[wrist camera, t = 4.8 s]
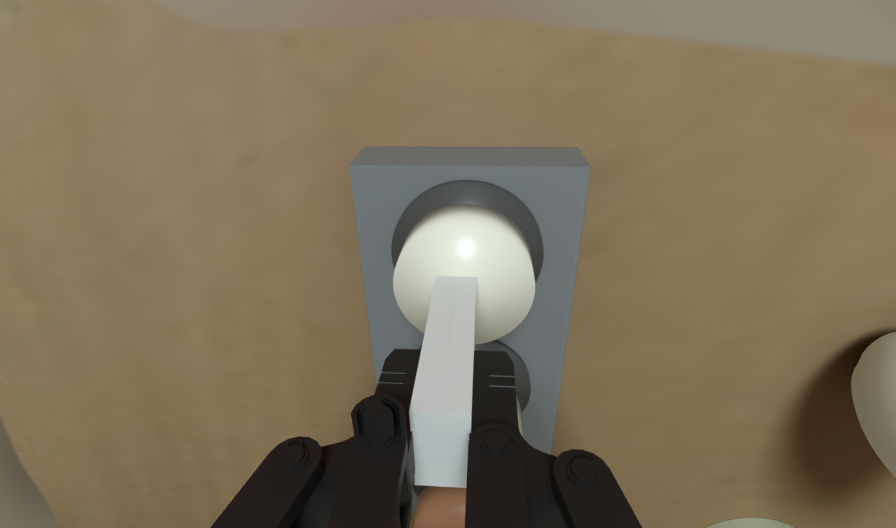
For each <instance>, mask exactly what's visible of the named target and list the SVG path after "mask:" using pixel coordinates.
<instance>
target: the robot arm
mask: <svg viewBox="0 0 896 528" xmlns="http://www.w3.org/2000/svg"><path fill="white" fill-rule="evenodd" d="M476 285H477V277H460V276H436V278H435V283H434V288H433V293H432V298H431V303H430V308H429V313H428V318H427V324H426V329H425V334H424V339H423V344H422V349H421V350H420V349H394V350H393V351H392V352H391V353H390V354H389V355H388V357H387V358H386V359H385V361H384V365H383V368H382V373H381V375H380V378H379V383H378V385H377V388H376V391H375V395H373V396H370V397H368V398H365V399H363V400H362V401H360V402H359V403H358V404H357V405H355V407H354V409H353V410H352V412H351V417H352V423H353V429H354V435H355V436H353V437H351V438H349V439H348V440H345V441H342V442H339V443H336V444H331V445H327V446H322V447H320V445H319V444H318V442H317V441H315V440H313V439H311V438H310V437H300V436H299V437H295V438H290V439H288V440H286V441H284V442H282V443H280V444H278V445H277V446H276V447H275V448H274V449H273V450H272V451H271V452H270V453H269V454H268V456H267V457H266V458H265V459H264V461H263V462H262V463H261V464H260V466H259V467H258V468H257V469H256V471H255V472H254V473H253V475H252V476H251V477H250V478H249V480H248V481H247V482H246V483H245V485H244V486H243V487H242V488H241V490H240V491H239V492H238V493H237V495H236V496H235V497H234V499H233V500H232V501H231V502H230V504H229V505H228V506H227V507H226V509H225V510H224V511H223V512H222V514H221V515H220V516H219V517H218V519H217V520H216V521H215V523H214V524H213V525H212V526H211V528H409V526H410V519H411V512H412V506H413V505H412V487H413V480H414V481H415V485H423V486H440V487H457V488H466V506H465V528H642V526H641V525H640V523H639V521H638V519H637V517H636V516H635V514H634V512H633V510H632V508H631V506H630V505H629V503H628V501H627V499H626V497H625V496H624V494H623V492H622V490H621V488H620V486H619V485H618V483H617V481H616V479H615V477H614V476H613V474H612V472H611V470H610V468H609V467H608V466H607V465H606V463H605V462H604V461H603V460H602V459H601V458H599V457H598V456H596V455H595V454H593V453H591V452H588V451H585V450H576V449H571V450H568V451H565V452H562V453H561V454H560V455H559V456H558V457H556V456H553V455H550V454H547V453H544V452H542V451H539V450H537V449H535V448H534V447H532V446H531V445H530V444H528V443H527V442H526V440H525V439H524V438H523V437H522V435H521V433H520V430H519V426H518V413H517V401H516V388H515V378H514V376H515V375H514V363H513V361H512V360H511V358H510V357H509V355H508V354H507V352H505V351H477V350H475V342H476Z"/></svg>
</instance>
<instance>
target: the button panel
mask: <svg viewBox="0 0 896 528" xmlns="http://www.w3.org/2000/svg"><path fill="white" fill-rule="evenodd" d="M590 168H591V166H590V165H589V163H588V162H587V160H586V159H585V157H584V156H583V154H582V153H581V151H580V150H579V148H520V147H366V148H365V149H364V150H363V151H362V152H361V153H360V154H359V155H358V156H357V157H356V158H355V159H354V160H353V161H352V162H351V163H350V164H349V169H350V177H351V185H352V193H353V201H354V209H355V217H356V225H357V233H358V241H359V249H360V257H361V265H362V273H363V281H364V289H365V297H366V305H367V313H368V321H369V329H370V337H371V345H372V353H373V361H374V369H375V377H376V385H378V383H379V378H380V375H381V373H382V368H383V365H384V361H385V359H386V358H387V357H388V355H389V354H390V353H391V352H392V351H393V350H394V349H420V350H421V349H422V344H423V339H424V333H423V332H421V331H420V330H418V329H417V328H416V327H415V326H413V325H412V324H411V323H410V322H409V321H408V319H407V318H406V317H405V316H404V314H403V313H402V311H401V310H400V308H399V306H398V304H397V301H396V298H395V295H394V289H393V276H394V270H395V267H396V263H397V261H398V258H399V256H400V253H401V250H402V248H403V245H404V242H405V240H406V238H407V236H408V234H409V232H410V231H411V229H412V228H413V227H414V226H415V225H416V223H417V222H418V221H419V220H421V219H422V218H423V217H424V216H426V215H427V214H429V213H431V212H432V211H435V210H437V209H439V208H442V207H445V206H449V205H455V204H475V205H480V206H485V207H488V208H491V209H493V210H495V211H497V212H499V213H501V214H503V215H504V216H506V217H507V218H509V219H510V220H511V221H512V222H513V223H514V224H515V225H516V226H517V227H518V228H519V229H520V231H521V232H522V234H523V235H524V237H525V239H526V241H527V243H528V246H529V249H530V254H531V260H532V266H533V272H534V278H535V295H534V300H533V303H532V306H531V308H530V310H529V312H528V314H527V315H526V317H525V318H524V320H523V321H522V322H521V323H520V324H519V325H518V326H517V327H516V328H515V329H513V330H512V331H511V332H509V333H508V334H506V335H505V336H503V337H501V338H499V339H496V340H493V341H491V342H487V343H483V344H476V345H475V350H477V351H505V352H507V354H508V355H509V357H510V358H511V360H512V361H513V363H514V375H515V376H514V378H515V388H516V396H517V398H518V400H519V403H520V408H521V419H522V432H523V438H524V439H525V440H526V442H527V443H528V444H530V445H531V446H532V447H534V448H535V449H537V450H539V451H542V452H544V453H547V454H550V455H551V450H552V443H553V436H554V429H555V421H556V414H557V407H558V400H559V392H560V385H561V378H562V371H563V363H564V356H565V349H566V342H567V335H568V327H569V320H570V313H571V306H572V298H573V291H574V284H575V277H576V269H577V262H578V255H579V248H580V240H581V233H582V226H583V219H584V212H585V204H586V197H587V190H588V183H589V175H590ZM427 487H428V486H423V485H415V481H414V480H413V487H412V505H413V506H412V512H411V513H415V514H416V508H417V502H418V498H419V496H420V494H421V493H422V491H423V490H424V489H425V488H427Z"/></svg>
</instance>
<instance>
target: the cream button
mask: <svg viewBox="0 0 896 528" xmlns="http://www.w3.org/2000/svg"><path fill="white" fill-rule="evenodd" d="M436 276H460V277H477V285H476V342H475V345H476V344H483V343H487V342H491V341H493V340H496V339H499V338H501V337H503V336H505V335H506V334H508V333H509V332H511V331H512V330H513V329H515V328H516V327H517V326H518V325H519V324H520V323H521V322H522V321H523V320H524V318H525V317H526V315H527V314H528V312H529V310H530V308H531V306H532V303H533V300H534V295H535V278H534V272H533V266H532V260H531V254H530V249H529V246H528V243H527V241H526V239H525V237H524V235H523V234H522V232H521V231H520V229H519V228H518V227H517V226H516V225H515V224H514V223H513V222H512V221H511V220H510V219H509V218H507V217H506V216H504V215H503V214H501V213H499V212H497V211H495V210H493V209H491V208H488V207H485V206H480V205H475V204H455V205H449V206H445V207H442V208H439V209H437V210H435V211H432V212H431V213H429V214H427V215H426V216H424V217H423V218H422V219H421V220H419V221H418V222H417V223H416V225H415V226H414V227H413V228H412V229H411V231H410V232H409V234H408V236H407V238H406V240H405V242H404V245H403V248H402V250H401V253H400V256H399V258H398V261H397V263H396V267H395V270H394V276H393V289H394V295H395V298H396V301H397V304H398V306H399V308H400V310H401V311H402V313H403V314H404V316H405V317H406V318H407V319H408V321H409V322H410V323H411V324H412V325H413V326H415V327H416V328H417V329H418V330H420V331H421V332H423V333H424V334H425V329H426V324H427V318H428V313H429V308H430V303H431V298H432V293H433V288H434V283H435V278H436Z"/></svg>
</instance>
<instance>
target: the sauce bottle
mask: <svg viewBox="0 0 896 528" xmlns="http://www.w3.org/2000/svg"><path fill="white" fill-rule="evenodd" d="M851 392H852V399H853V403H854V407H855V410H856V414H857V417H858V420H859V423H860V425H861V428H862V430H863V432H864V434H865V436H866V438H867V440H868V441H869V443H870V445H871V446H872V448H873V449H874V451H875V453H876V454H877V455H878V457H879V458H880V460H881V461H882V462H883V464H884V465H885V466H886V467H887V469H888V470H889V471H890V472H891V473H892V475H893V476H894V477H895V478H896V332H892V333H889V334H886V335H884V336H882V337H880V338H878V339H877V340H875V341H874V342H873V343H872V344H870V345H869V346H868V347H867V348H866V350H865V351H864V352H863V354H862V355H861V357H860V360H859V362H858V364H857V365H856V367H855V369H854V371H853V374H852V377H851Z"/></svg>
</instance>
